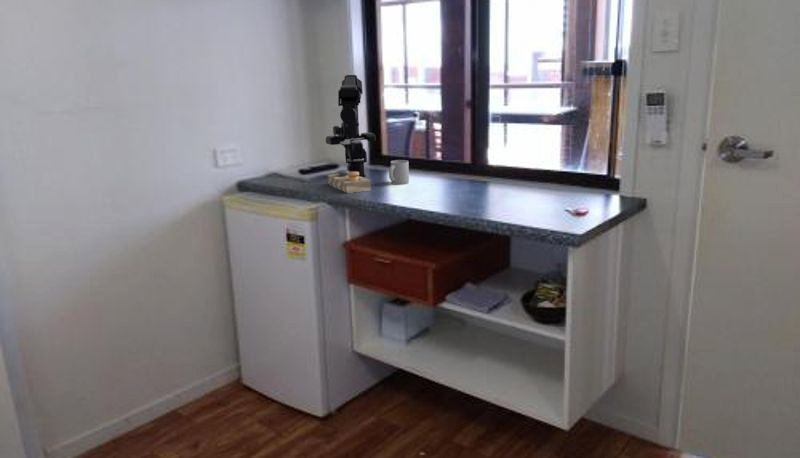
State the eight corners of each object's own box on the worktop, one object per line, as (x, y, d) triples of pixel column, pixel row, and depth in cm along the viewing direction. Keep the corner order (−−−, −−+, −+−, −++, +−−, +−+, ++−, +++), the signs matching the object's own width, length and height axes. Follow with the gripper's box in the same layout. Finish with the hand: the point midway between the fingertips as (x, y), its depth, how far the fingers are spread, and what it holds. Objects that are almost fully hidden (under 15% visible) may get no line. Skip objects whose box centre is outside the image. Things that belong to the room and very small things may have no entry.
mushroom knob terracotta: (356, 185, 246) (356, 171, 245) (361, 187, 243) (361, 172, 241) (346, 186, 244) (345, 172, 243) (350, 188, 241) (350, 174, 239)
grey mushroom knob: (347, 183, 255) (346, 169, 254) (351, 185, 251) (351, 171, 250) (336, 184, 253) (336, 170, 252) (341, 186, 249) (340, 172, 248)
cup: (412, 182, 255) (412, 160, 252) (396, 186, 248) (396, 164, 245) (399, 180, 259) (398, 159, 257) (383, 184, 252) (382, 162, 250)
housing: (328, 184, 254) (327, 175, 253) (350, 181, 259) (350, 172, 258) (347, 193, 237) (346, 183, 236) (370, 190, 242) (370, 180, 241)
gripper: (363, 117, 248) (365, 155, 252) (319, 120, 240) (321, 160, 244) (375, 119, 238) (376, 159, 243) (330, 122, 230) (332, 164, 234)
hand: (351, 160), depth 241 cm, fingers closed
